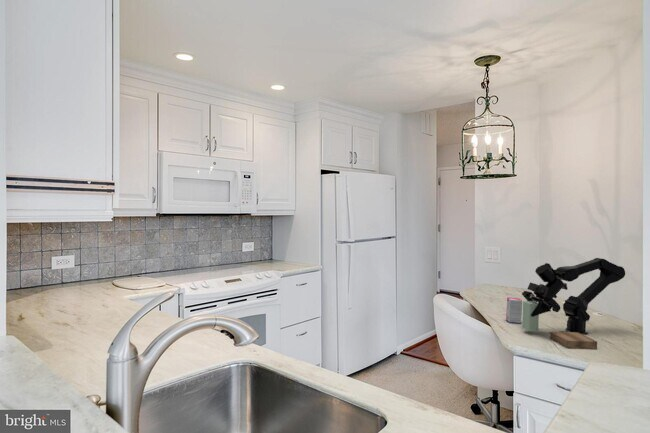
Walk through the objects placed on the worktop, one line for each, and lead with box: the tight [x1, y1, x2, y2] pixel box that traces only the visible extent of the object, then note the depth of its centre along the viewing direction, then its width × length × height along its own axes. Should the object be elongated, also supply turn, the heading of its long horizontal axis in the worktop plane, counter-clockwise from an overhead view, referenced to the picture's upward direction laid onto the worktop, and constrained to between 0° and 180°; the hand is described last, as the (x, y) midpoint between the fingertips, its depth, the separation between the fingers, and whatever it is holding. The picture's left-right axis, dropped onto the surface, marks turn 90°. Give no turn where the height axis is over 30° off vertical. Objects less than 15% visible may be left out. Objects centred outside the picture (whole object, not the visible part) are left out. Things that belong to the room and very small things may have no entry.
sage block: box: [521, 300, 540, 332], centre depth 179 cm, size 4×4×12 cm
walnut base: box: [549, 331, 598, 350], centre depth 167 cm, size 12×12×3 cm
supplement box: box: [505, 296, 523, 325], centre depth 197 cm, size 6×6×12 cm
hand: (527, 314), depth 179 cm, fingers closed on sage block, 4 cm apart
